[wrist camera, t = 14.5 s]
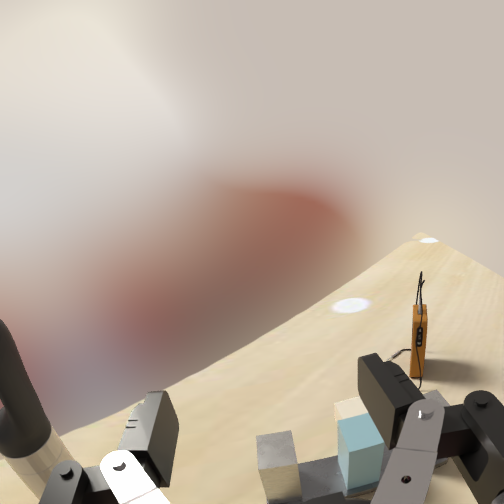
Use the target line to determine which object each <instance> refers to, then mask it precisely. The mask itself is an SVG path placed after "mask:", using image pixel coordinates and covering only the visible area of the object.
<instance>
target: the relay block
mask: <svg viewBox="0 0 504 504" xmlns="http://www.w3.org/2000/svg"><path fill="white" fill-rule="evenodd" d="M334 412H335V420H336V422H337V421H338V420H342V419H346V418H350V417H354V416H358V415H362V414H365V413H368V411H367V409H366V407H365V406H364V404H363V402H362V400H361V398H360V396H357V397H353V398H350V399H346V400H343V401H339V402H336V403H334ZM337 425H338V422H337Z"/></svg>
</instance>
